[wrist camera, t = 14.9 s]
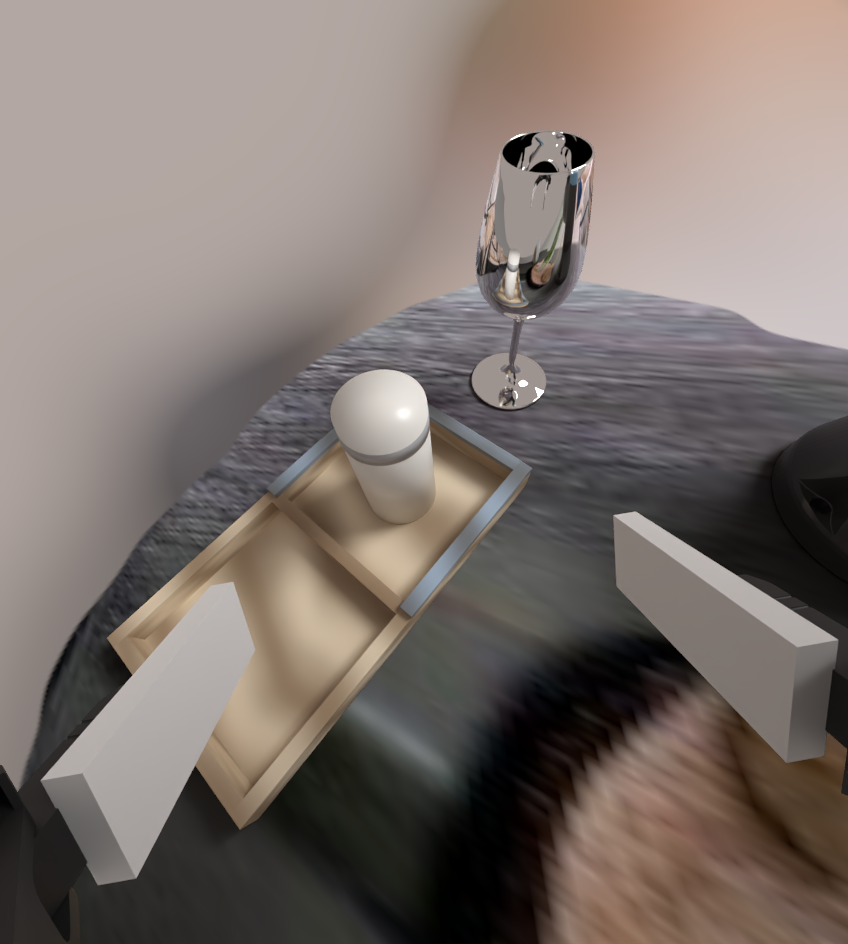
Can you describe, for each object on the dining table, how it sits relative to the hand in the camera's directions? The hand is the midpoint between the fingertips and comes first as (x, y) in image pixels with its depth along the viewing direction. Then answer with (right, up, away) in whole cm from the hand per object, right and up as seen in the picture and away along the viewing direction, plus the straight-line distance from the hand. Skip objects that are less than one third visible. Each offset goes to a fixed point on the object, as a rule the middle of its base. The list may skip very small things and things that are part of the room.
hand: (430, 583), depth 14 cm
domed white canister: (-2, +2, +21) cm, 22 cm away
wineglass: (+8, +13, +28) cm, 32 cm away
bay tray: (-7, -3, +19) cm, 21 cm away
